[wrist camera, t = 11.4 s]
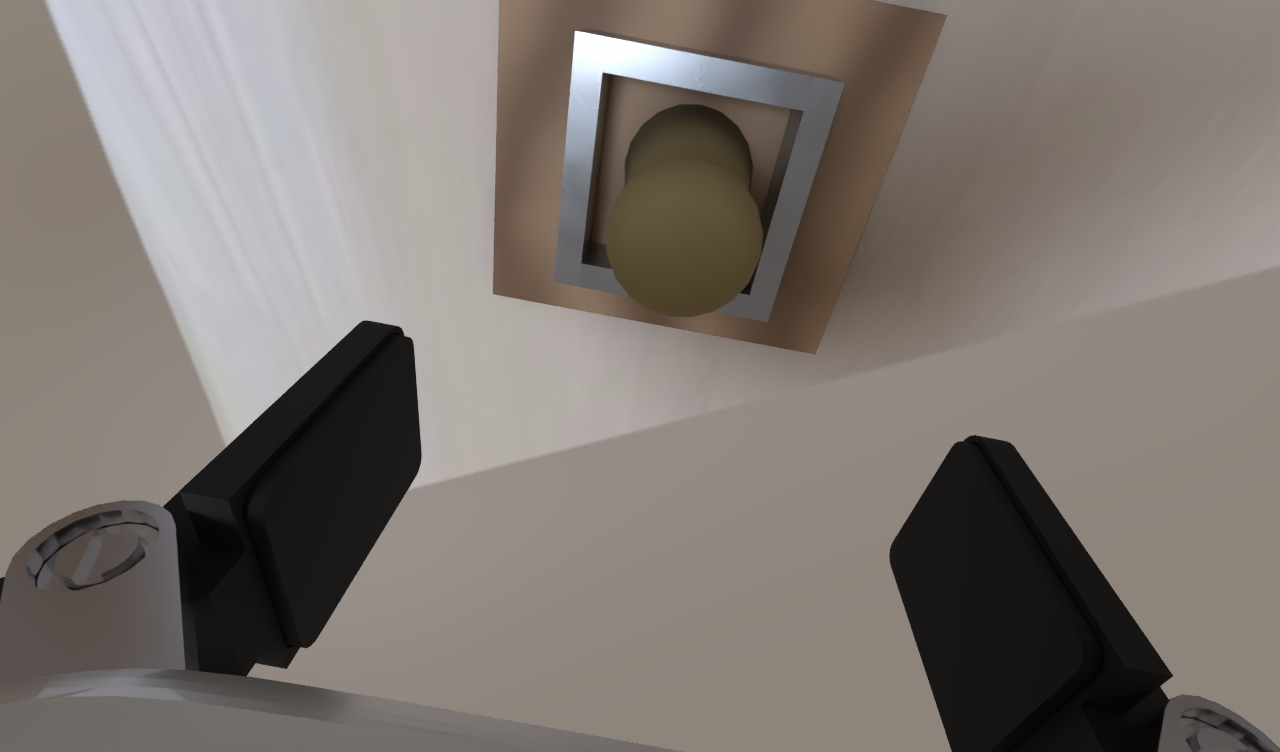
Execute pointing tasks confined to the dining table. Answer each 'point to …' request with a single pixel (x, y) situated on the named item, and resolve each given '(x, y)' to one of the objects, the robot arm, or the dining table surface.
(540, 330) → the dining table surface
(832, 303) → the collar board
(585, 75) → the collar
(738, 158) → the cork
